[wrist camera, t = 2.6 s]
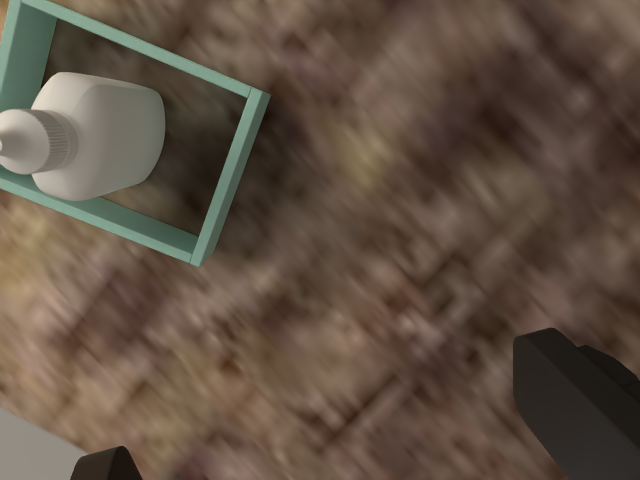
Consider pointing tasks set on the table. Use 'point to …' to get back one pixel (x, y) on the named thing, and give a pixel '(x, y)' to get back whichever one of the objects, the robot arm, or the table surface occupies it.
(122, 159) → the eye dropper bottle
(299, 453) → the table surface
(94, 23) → the green rectangular frame
